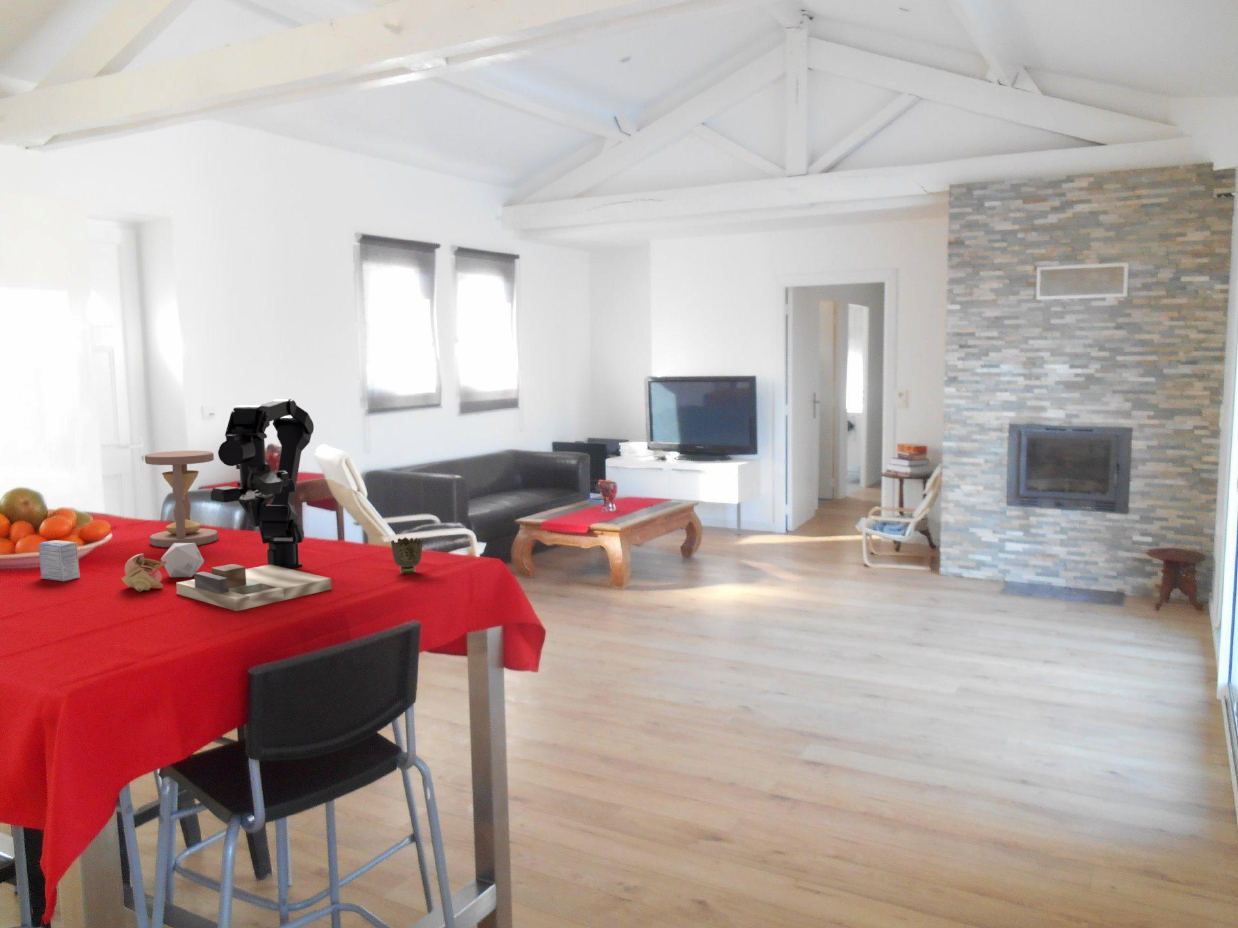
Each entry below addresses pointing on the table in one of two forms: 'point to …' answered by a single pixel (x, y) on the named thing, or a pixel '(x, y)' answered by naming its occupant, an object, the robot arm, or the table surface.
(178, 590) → the board
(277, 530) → the robot arm
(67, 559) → the stool softener box
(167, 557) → the die
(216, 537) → the hourglass
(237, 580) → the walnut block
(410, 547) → the cup
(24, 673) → the table surface
